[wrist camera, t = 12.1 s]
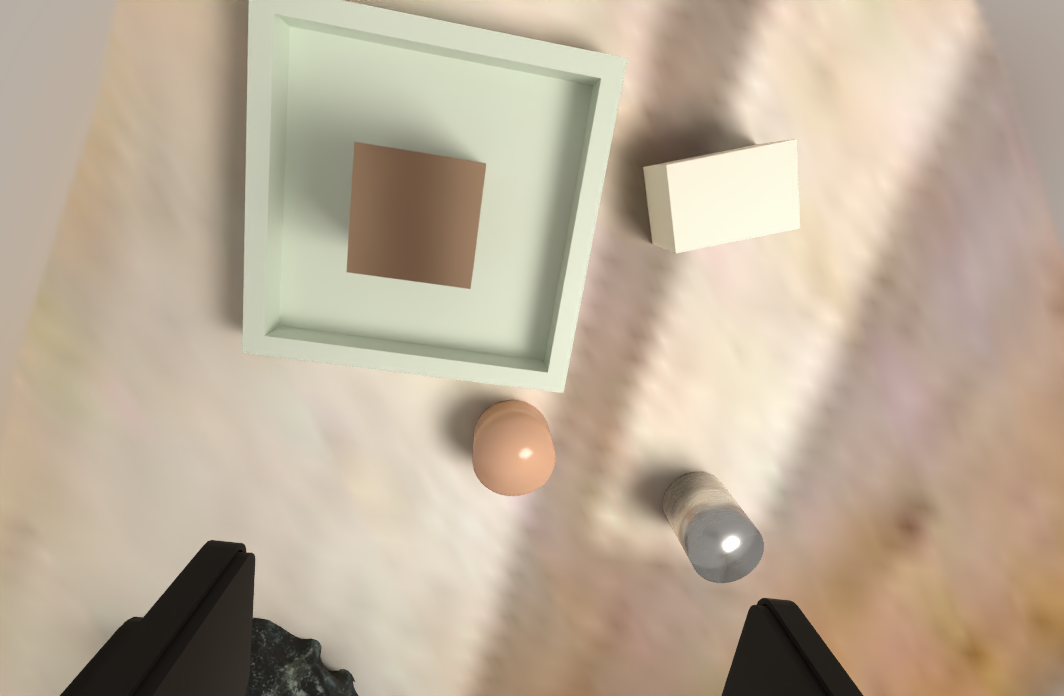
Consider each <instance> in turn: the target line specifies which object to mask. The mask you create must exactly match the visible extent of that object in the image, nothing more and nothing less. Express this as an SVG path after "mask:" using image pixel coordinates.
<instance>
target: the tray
mask: <svg viewBox="0 0 1064 696" xmlns="http://www.w3.org/2000/svg"><path fill="white" fill-rule="evenodd" d="M626 64H627V58H624V57H619V56H614V55H609V54H604V53H599V52H594V51H590V50H585V49H580V48H575V47H570V46H565V45H560V44H555V43H550V42H545V41H540V40H536V39H531V38H526V37H521V36H516V35H511V34H506V33H501V32H496V31H491V30H486V29H482V28H477V27H472V26H467V25H462V24H457V23H452V22H447V21H442V20H437V19H433V18H428V17H423V16H418V15H413V14H408V13H403V12H398V11H393V10H388V9H383V8H379V7H374V6H369V5H364V4H359V3H354V2H349V1H344V0H249V12H248V67H247V122H246V176H245V231H244V286H243V341H242V353H248V354H256V355H264V356H272V357H280V358H288V359H296V360H304V361H312V362H320V363H328V364H336V365H344V366H352V367H360V368H368V369H376V370H384V371H392V372H400V373H408V374H416V375H424V376H432V377H440V378H448V379H456V380H464V381H472V382H480V383H488V384H496V385H504V386H512V387H520V388H528V389H536V390H544V391H552V392H560V393H563V392H564V387H565V382H566V377H567V372H568V366H569V361H570V356H571V351H572V345H573V340H574V335H575V330H576V325H577V319H578V314H579V309H580V304H581V299H582V293H583V288H584V283H585V278H586V272H587V267H588V262H589V257H590V252H591V246H592V241H593V236H594V231H595V225H596V220H597V215H598V210H599V205H600V199H601V194H602V189H603V184H604V178H605V173H606V168H607V163H608V158H609V152H610V147H611V142H612V137H613V132H614V126H615V121H616V116H617V111H618V105H619V100H620V95H621V90H622V85H623V79H624V74H625V69H626ZM354 142H360V143H366V144H372V145H378V146H384V147H390V148H397V149H403V150H409V151H415V152H421V153H427V154H433V155H439V156H445V157H451V158H458V159H464V160H470V161H476V162H482V163H486V171H485V179H484V187H483V195H482V203H481V211H480V219H479V227H478V235H477V243H476V251H475V260H474V268H473V275H472V282H471V289H466V288H459V287H451V286H444V285H437V284H429V283H422V282H415V281H407V280H400V279H393V278H385V277H378V276H371V275H363V274H356V273H348V272H346V271H347V255H348V238H349V221H350V205H351V188H352V171H353V155H354Z"/></svg>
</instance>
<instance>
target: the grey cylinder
mask: <svg viewBox="0 0 1064 696" xmlns="http://www.w3.org/2000/svg"><path fill="white" fill-rule="evenodd" d="M663 509H664V513H665V515H666V517H667V519H668V521H669V522H670V524H671V526H672V528H673V530H674V532H675V534H676V535H677V537H678V539H679V541H680V543H681V545H682V547H683V548H684V550H685V552H686V554H687V556H688V558H689V560H690V561H691V563H692V565H693V567H694V569H695V570H696V572H697V573H698V574H699V575H700V576H701V577H702V578H704V579H706V580H708V581H711V582H716V583H728V582H733V581H736V580H738V579H741V578H743V577H744V576H746V575H747V574H749V573H750V572H751V571H752V570H753V569H754V568H755V567H756V566H757V564H758V563H759V561H760V560H761V557H762V554H763V550H764V542H763V538H762V536H761V534H760V532H759V531H758V529H757V528H756V527H755V526H754V524H753V523H752V522H751V520H750V519H749V518H748V517H747V515H746V514H745V513H744V511H743V510H742V509H741V508H740V506H739V505H738V504H737V502H736V501H735V500H734V499H733V497H732V496H731V495H730V493H729V492H728V491H727V490H726V488H725V487H724V486H723V484H722V483H721V482H720V481H719V480H718V479H717V478H716V477H714V476H713V475H711V474H708V473H704V472H693V473H689V474H685V475H683V476H681V477H679V478H678V479H676V480H675V481H674V482H673V483H672V484H671V485H670V486H669V487H668V489H667V491H666V493H665V495H664V498H663Z"/></svg>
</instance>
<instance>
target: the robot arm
mask: <svg viewBox="0 0 1064 696" xmlns="http://www.w3.org/2000/svg"><path fill="white" fill-rule="evenodd" d="M254 575H255V555H254V554H253V553H246V547H245V545H244V544H243V543H234V542H224V541H215V540H210V541H208V542H207V543H206V544H205V545H204V546H203V547H202V548H201V549H200V551H199V552H198V553H197V554H196V555H195V557H194V558H193V559H192V560H191V561H190V562H189V564H188V565H187V566H186V567H185V568H184V570H183V571H182V572H181V573H180V574H179V576H178V577H177V578H176V579H175V580H174V582H173V583H172V584H171V585H170V586H169V588H168V589H167V590H166V591H165V592H164V594H163V595H162V596H161V597H160V598H159V599H158V601H157V602H156V603H155V604H154V605H153V607H152V608H151V609H150V610H149V611H148V613H147V614H146V615H145V616H144V617H143V618H142V617H133V618H131V619H129V620H127V621H126V622H125V623H124V624H123V625H122V626H121V627H120V628H119V629H118V630H117V631H116V632H115V633H114V634H113V635H112V637H111V638H110V639H109V640H108V641H107V642H106V643H105V645H104V646H103V647H102V648H101V649H100V650H99V651H98V653H97V654H96V655H95V656H94V657H93V658H92V659H91V661H90V662H89V663H88V664H87V665H86V666H85V668H84V669H83V670H82V671H81V672H80V673H79V674H78V676H77V677H76V678H75V679H74V680H73V681H72V682H71V684H70V685H69V686H68V687H67V688H66V689H65V690H64V692H63V693H62V694H61V695H60V696H244V694H245V692H246V689H247V685H248V682H249V677H250V661H251V640H252V618H253V596H254ZM722 696H863V695H862V693H861V692H860V690H859V689H858V688H857V686H856V685H855V684H854V682H853V681H852V680H851V678H850V677H849V675H848V674H847V673H846V671H845V670H844V669H843V667H842V666H841V664H840V663H839V662H838V660H837V659H836V658H835V656H834V655H833V654H832V652H831V651H830V649H829V648H828V647H827V645H826V644H825V643H824V641H823V640H822V639H821V637H820V636H819V634H818V633H817V632H816V630H815V629H814V628H813V626H812V625H811V623H810V622H809V621H808V619H807V618H806V617H805V615H804V614H803V613H802V611H801V610H800V608H799V607H798V606H797V605H796V604H795V603H794V602H792V601H789V600H779V599H770V598H762V599H760V600H759V601H758V603H757V605H752V606H751V607H750V609H749V611H748V614H747V618H746V621H745V624H744V627H743V630H742V633H741V636H740V640H739V643H738V646H737V649H736V652H735V655H734V658H733V662H732V665H731V668H730V671H729V674H728V677H727V680H726V684H725V687H724V690H723V693H722Z"/></svg>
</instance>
